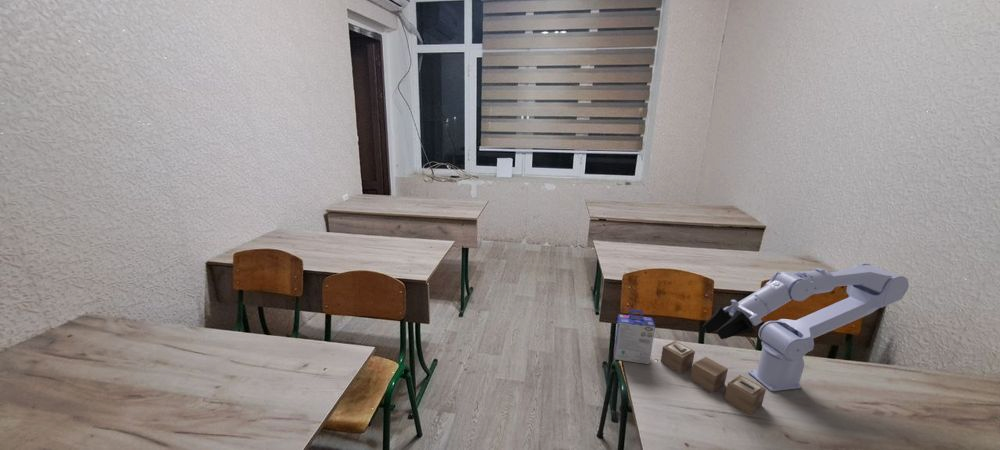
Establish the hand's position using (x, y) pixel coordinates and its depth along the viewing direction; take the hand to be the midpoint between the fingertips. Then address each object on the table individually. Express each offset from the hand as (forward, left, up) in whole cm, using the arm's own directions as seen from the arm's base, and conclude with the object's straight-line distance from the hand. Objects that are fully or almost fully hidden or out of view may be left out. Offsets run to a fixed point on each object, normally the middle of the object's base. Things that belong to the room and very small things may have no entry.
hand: (711, 332), depth 96 cm
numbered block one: (-6, +7, -16) cm, 19 cm away
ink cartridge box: (+12, -14, -16) cm, 25 cm away
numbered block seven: (+1, -9, -16) cm, 18 cm away
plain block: (-3, -1, -16) cm, 16 cm away
